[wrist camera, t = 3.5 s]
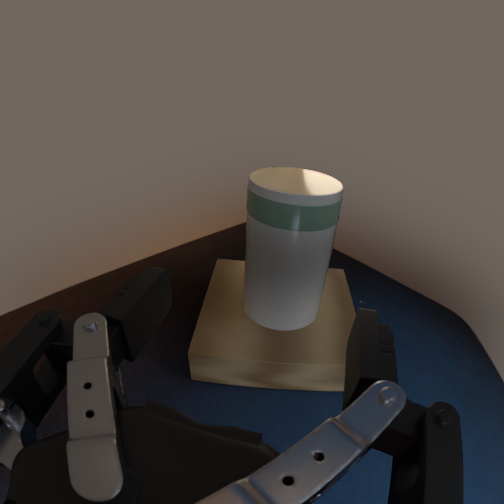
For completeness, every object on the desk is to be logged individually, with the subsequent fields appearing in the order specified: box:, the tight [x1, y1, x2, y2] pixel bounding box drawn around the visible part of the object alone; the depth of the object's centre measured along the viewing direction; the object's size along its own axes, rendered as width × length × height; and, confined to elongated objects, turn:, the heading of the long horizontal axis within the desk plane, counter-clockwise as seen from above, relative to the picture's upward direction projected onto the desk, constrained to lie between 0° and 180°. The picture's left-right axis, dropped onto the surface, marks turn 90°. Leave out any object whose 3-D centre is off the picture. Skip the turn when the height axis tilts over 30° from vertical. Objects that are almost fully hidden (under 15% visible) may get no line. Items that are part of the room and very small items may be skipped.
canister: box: [243, 167, 343, 331], centre depth 22 cm, size 6×6×10 cm
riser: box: [188, 259, 356, 391], centre depth 25 cm, size 12×12×3 cm
